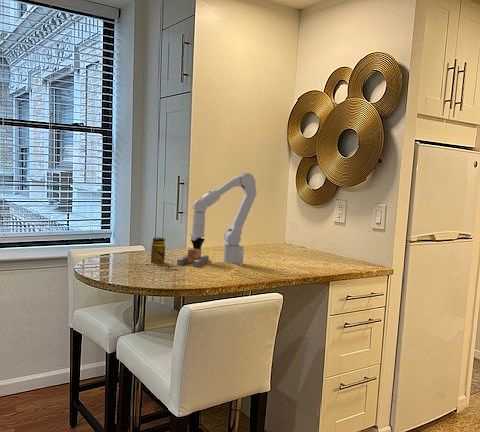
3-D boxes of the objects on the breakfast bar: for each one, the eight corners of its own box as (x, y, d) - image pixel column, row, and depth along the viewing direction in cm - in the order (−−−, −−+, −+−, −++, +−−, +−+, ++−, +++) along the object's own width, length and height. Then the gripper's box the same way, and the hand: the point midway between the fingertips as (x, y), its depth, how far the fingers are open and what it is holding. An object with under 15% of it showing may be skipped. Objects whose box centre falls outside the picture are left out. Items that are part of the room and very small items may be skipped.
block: (200, 261, 227) (201, 249, 227) (197, 263, 222) (198, 250, 222) (190, 260, 228) (191, 248, 228) (187, 262, 223) (187, 249, 223)
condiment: (164, 266, 216) (166, 239, 215) (145, 265, 214) (146, 238, 213) (165, 263, 223) (166, 237, 222) (146, 262, 222) (147, 236, 221)
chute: (208, 262, 232) (208, 255, 232) (197, 268, 215) (197, 261, 214) (189, 259, 234) (189, 253, 234) (176, 266, 217) (177, 259, 216)
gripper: (195, 223, 235) (193, 250, 237) (185, 225, 221) (183, 255, 223) (209, 224, 234) (207, 252, 235) (200, 227, 220) (198, 256, 221)
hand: (196, 253), depth 229 cm, fingers closed
